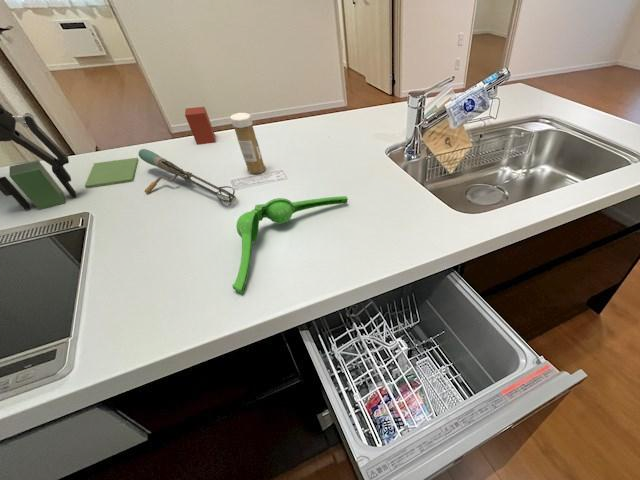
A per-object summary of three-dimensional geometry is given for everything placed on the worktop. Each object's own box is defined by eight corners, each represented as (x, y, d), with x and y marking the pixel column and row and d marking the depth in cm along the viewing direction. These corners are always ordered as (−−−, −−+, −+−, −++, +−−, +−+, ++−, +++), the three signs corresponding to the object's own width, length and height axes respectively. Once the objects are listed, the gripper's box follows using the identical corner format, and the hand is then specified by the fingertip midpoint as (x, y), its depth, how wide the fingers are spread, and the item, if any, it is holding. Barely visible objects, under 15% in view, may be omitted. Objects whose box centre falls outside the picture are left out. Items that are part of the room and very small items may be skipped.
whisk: (219, 236, 78) (200, 219, 72) (128, 186, 87) (105, 167, 81) (248, 201, 81) (232, 182, 75) (158, 156, 90) (137, 136, 84)
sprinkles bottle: (269, 168, 91) (254, 114, 81) (257, 176, 88) (240, 120, 78) (255, 164, 92) (239, 110, 82) (243, 172, 89) (225, 116, 79)
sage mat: (95, 165, 90) (94, 163, 90) (138, 159, 93) (137, 157, 92) (86, 188, 83) (84, 185, 82) (133, 181, 85) (131, 178, 85)
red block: (197, 137, 103) (185, 108, 97) (215, 135, 104) (204, 106, 98) (197, 144, 99) (184, 115, 94) (215, 142, 101) (204, 112, 95)
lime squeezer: (242, 295, 60) (230, 269, 56) (195, 272, 64) (180, 245, 59) (350, 204, 80) (348, 179, 76) (310, 190, 84) (305, 165, 79)
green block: (38, 199, 79) (9, 166, 73) (64, 193, 81) (38, 160, 75) (38, 209, 76) (9, 176, 70) (65, 202, 78) (39, 169, 72)
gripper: (-131, 105, 55) (-9, 224, 72) (31, 83, 64) (106, 194, 81) (-121, 92, 59) (-8, 207, 76) (30, 73, 68) (102, 180, 85)
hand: (51, 200), depth 78 cm, fingers open, 8 cm apart
